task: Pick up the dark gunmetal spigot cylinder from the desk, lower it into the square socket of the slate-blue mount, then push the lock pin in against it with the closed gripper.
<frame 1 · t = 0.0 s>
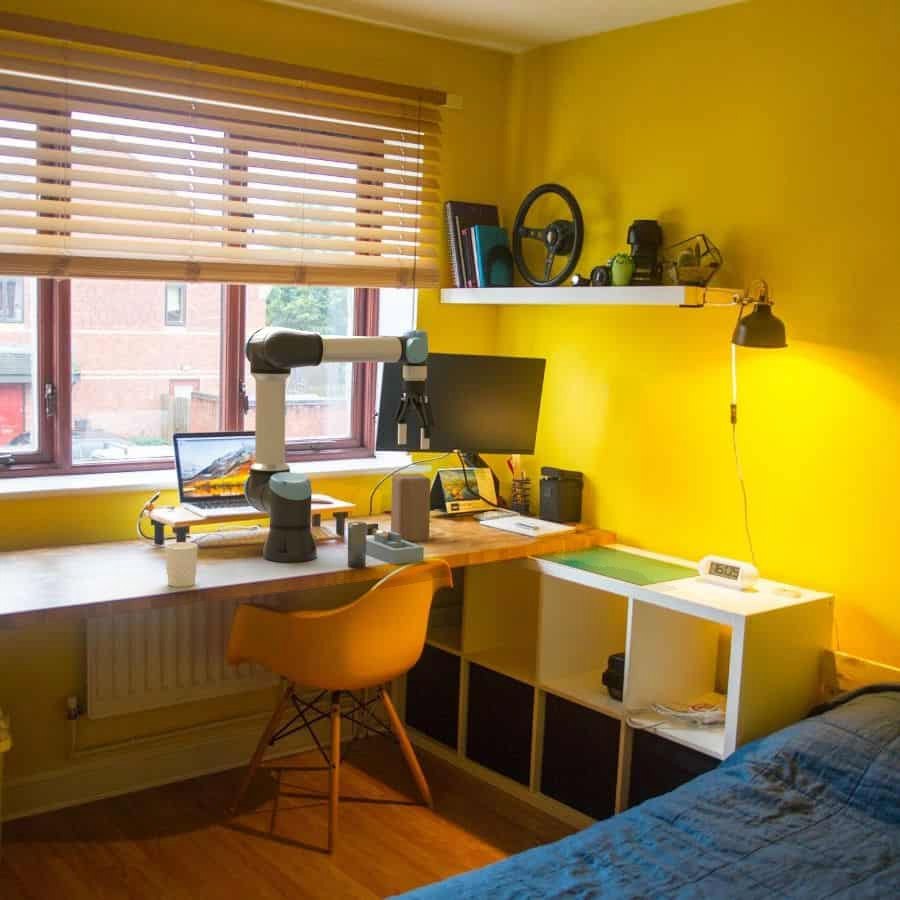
hand: (413, 446, 347), 28 cm above the table, fingers open, 13 cm apart
wooden block: (409, 539, 342), on the table
mount: (391, 556, 316), on the table
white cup: (181, 584, 278), on the table
spigot: (356, 566, 303), on the table
lock pin: (378, 532, 322), point 6 cm above the table, slide at 0.0 cm
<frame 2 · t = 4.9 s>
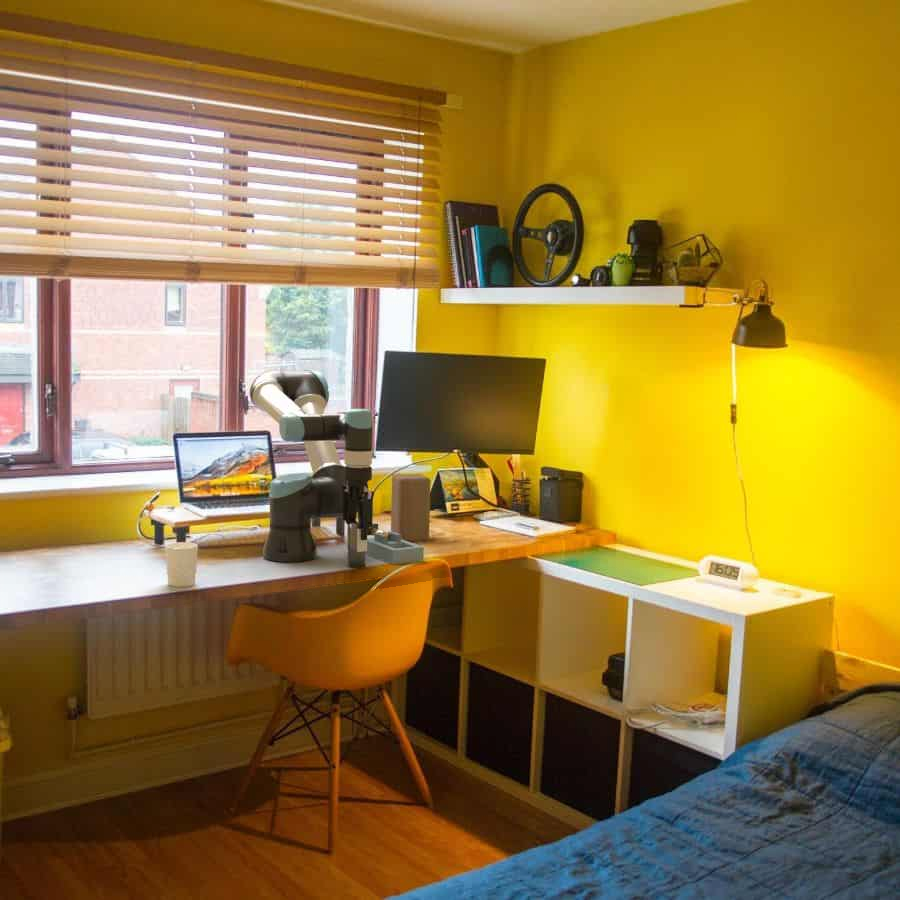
hand: (356, 549, 302), 5 cm above the table, fingers closed on spigot, 5 cm apart
spigot: (356, 566, 303), on the table, touching gripper
everything else where it was.
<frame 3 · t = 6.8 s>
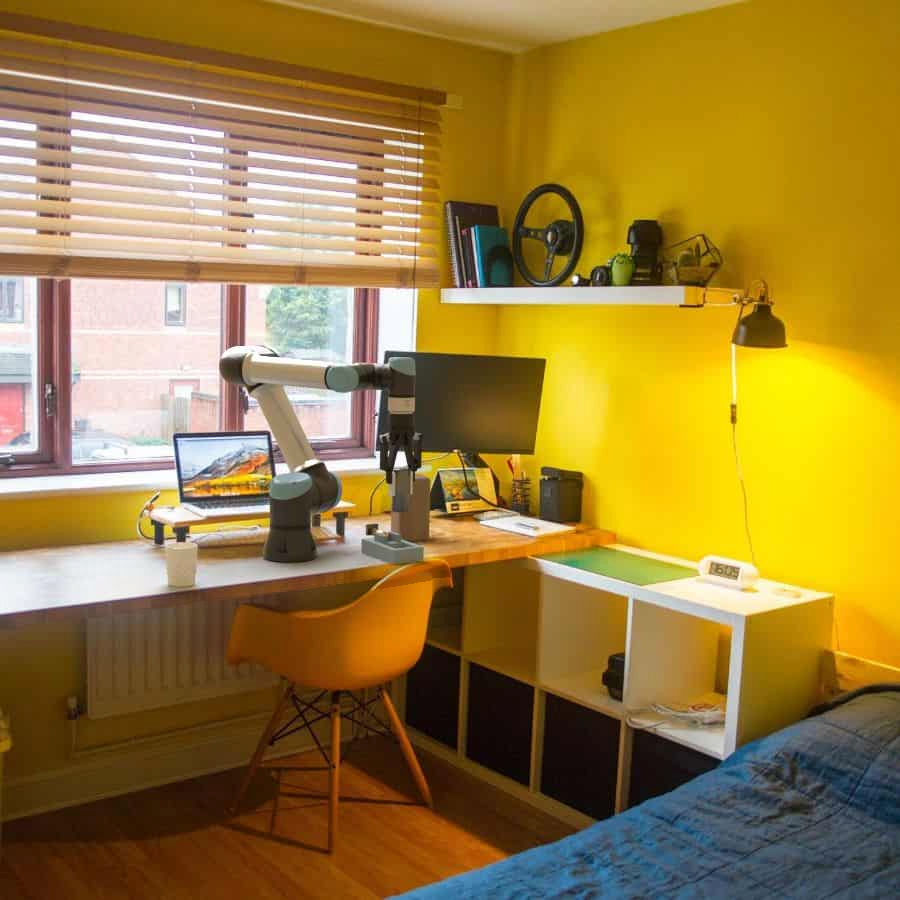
hand: (400, 494, 310), 19 cm above the table, fingers closed on spigot, 5 cm apart
spigot: (400, 510, 311), point 14 cm above the table, touching gripper
everything else where it was.
when the fingers open (6 cm above the table, at t = 8.7 s): spigot drops 1 cm, resting in mount.
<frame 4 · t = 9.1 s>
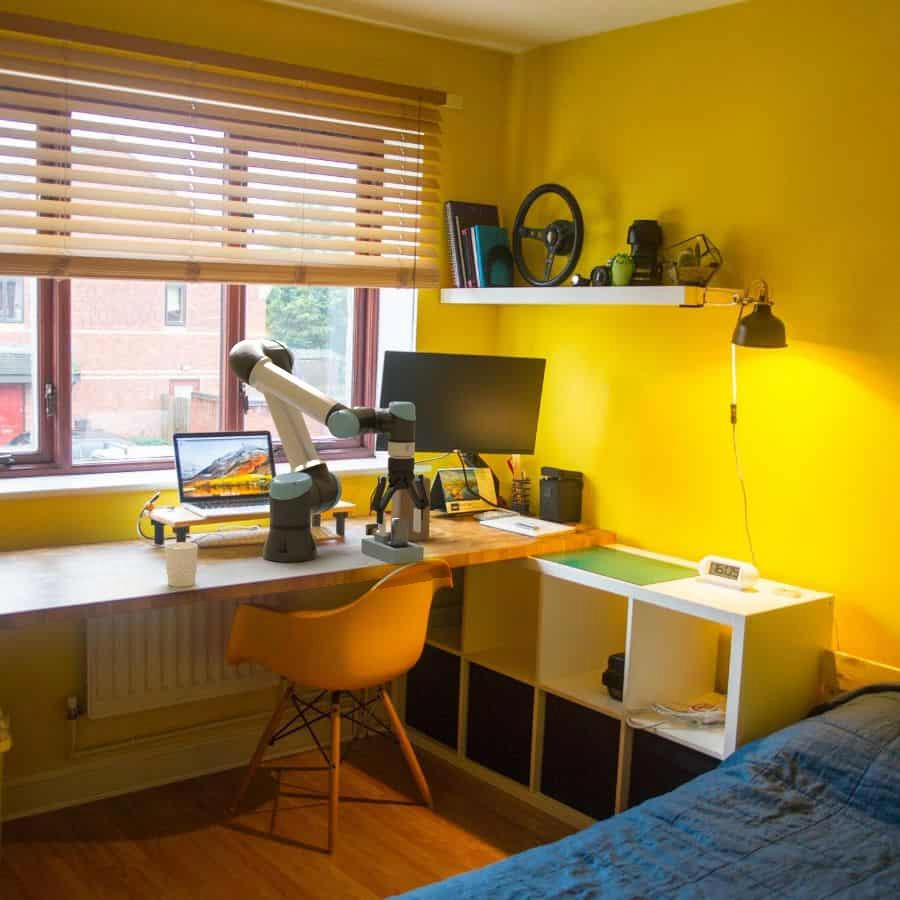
hand: (399, 533, 312), 7 cm above the table, fingers open, 11 cm apart
spigot: (399, 559, 313), resting in mount
everything else where it was.
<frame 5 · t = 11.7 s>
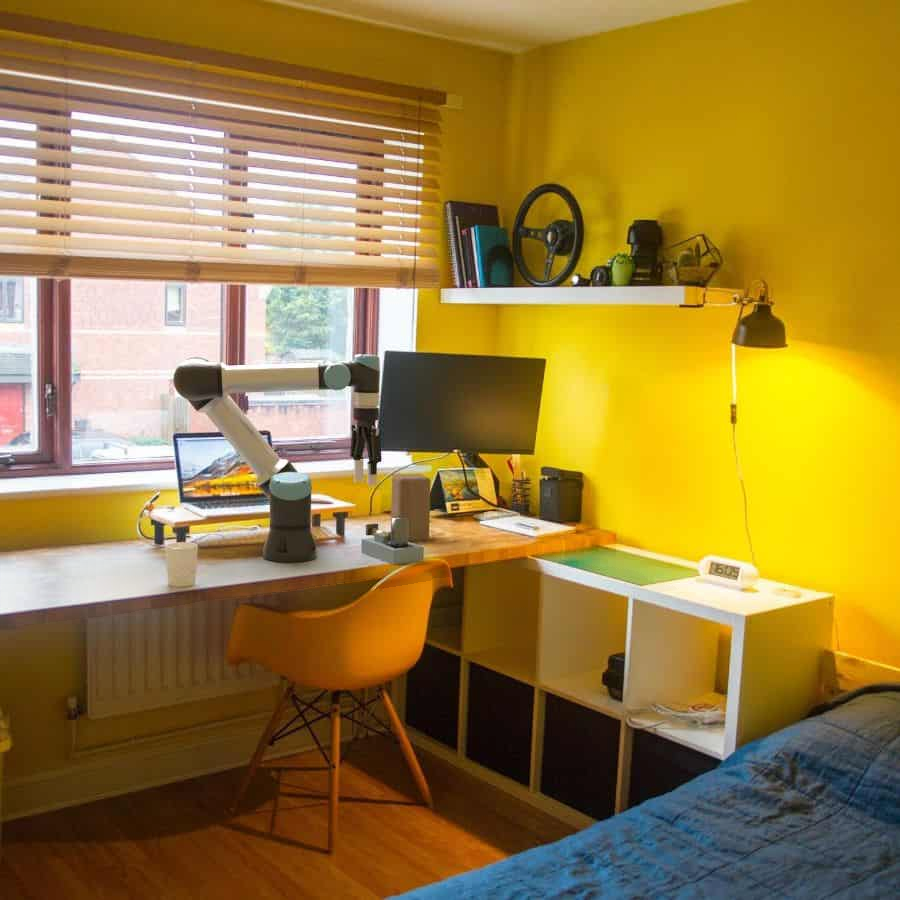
hand: (365, 483, 327), 19 cm above the table, fingers open, 7 cm apart
nothing on the table moved.
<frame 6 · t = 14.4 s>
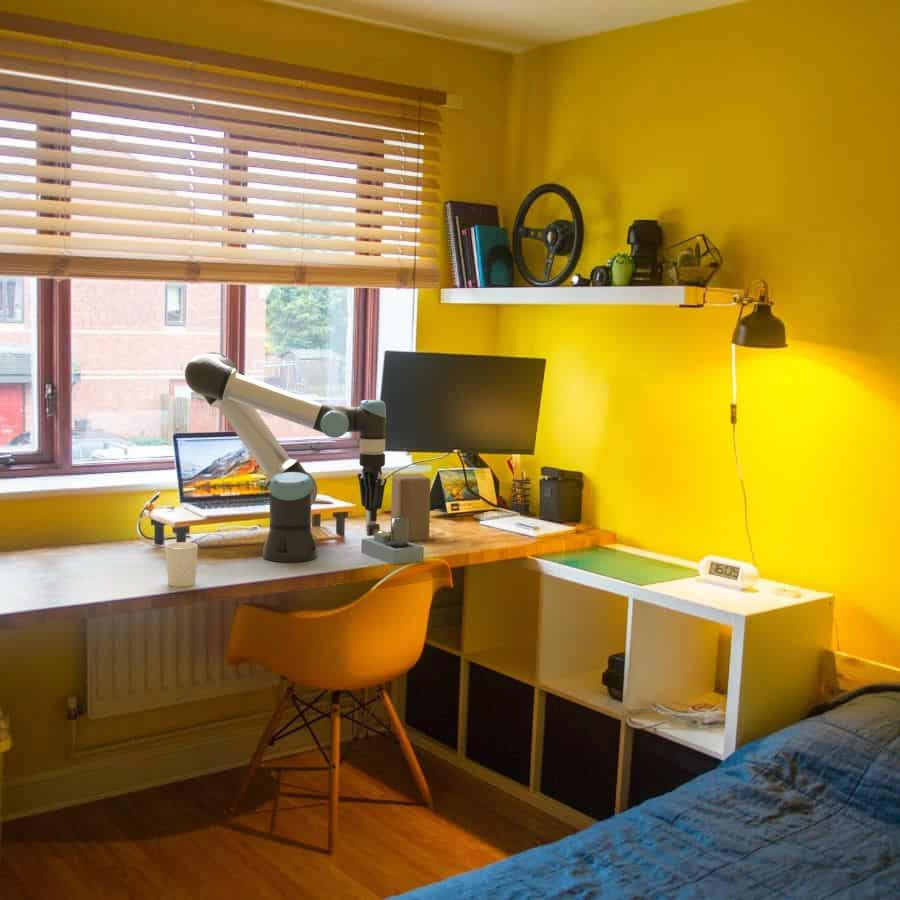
hand: (371, 531, 325), 5 cm above the table, fingers closed
lock pin: (380, 532, 321), point 6 cm above the table, slide at 0.8 cm, touching gripper
everything else where it was.
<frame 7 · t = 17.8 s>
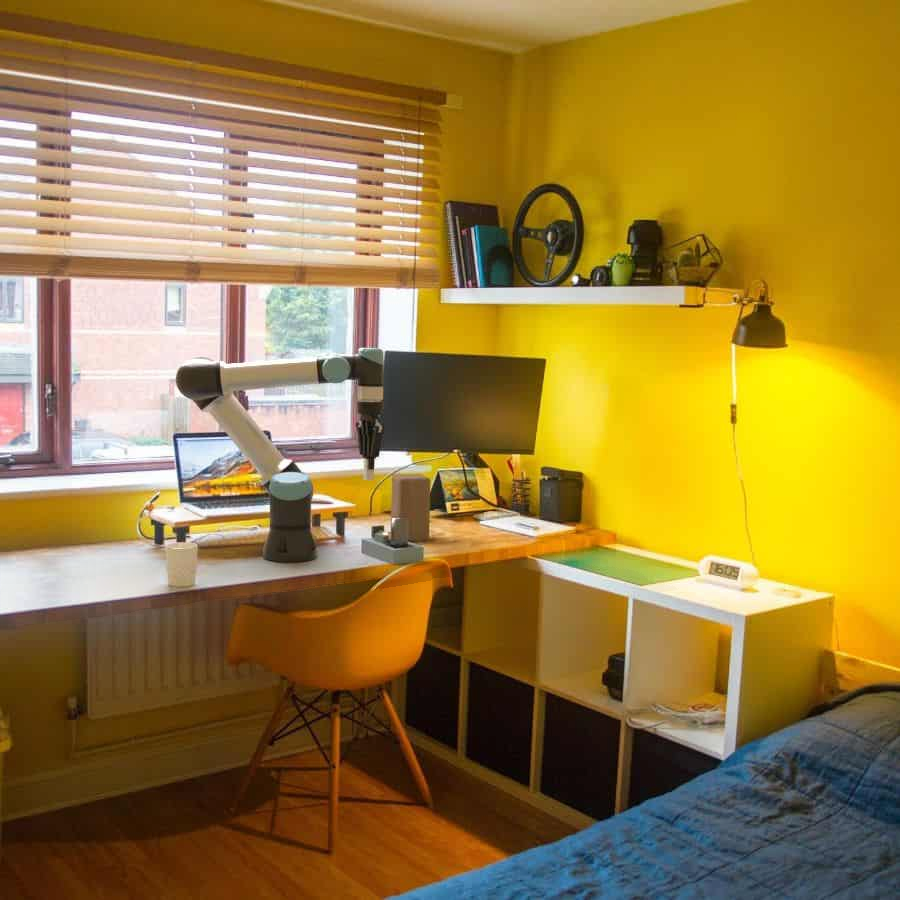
hand: (368, 479, 325), 20 cm above the table, fingers closed
lock pin: (384, 534, 319), point 6 cm above the table, slide at 3.4 cm
everything else where it was.
at the end: spigot 0.0 cm from the target spot on the mount, point 0.0 cm above the mount's base; spigot tilted 0°; lock pin slide at 3.4 cm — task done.
